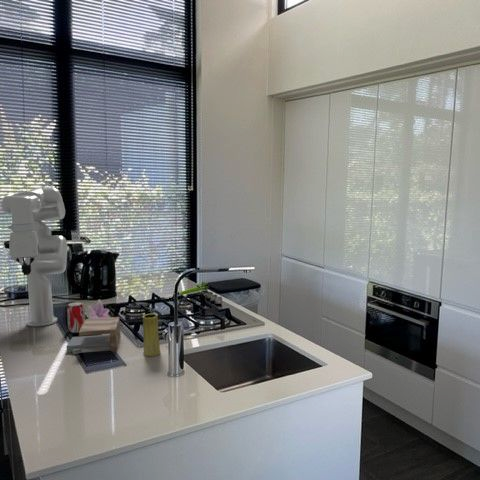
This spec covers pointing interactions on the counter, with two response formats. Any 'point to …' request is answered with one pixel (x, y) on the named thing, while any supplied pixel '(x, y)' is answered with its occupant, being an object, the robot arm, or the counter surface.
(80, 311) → the soda can
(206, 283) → the leek
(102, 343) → the grey book
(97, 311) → the lily
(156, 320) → the vase
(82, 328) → the shelf
